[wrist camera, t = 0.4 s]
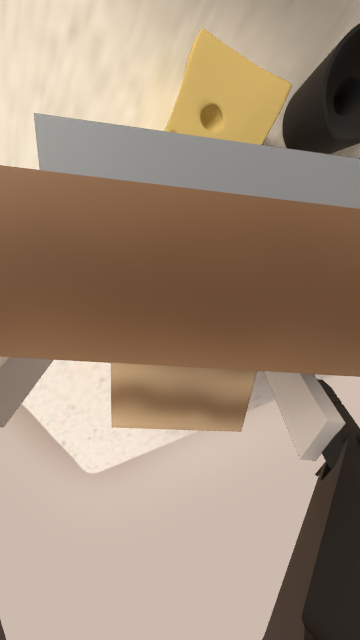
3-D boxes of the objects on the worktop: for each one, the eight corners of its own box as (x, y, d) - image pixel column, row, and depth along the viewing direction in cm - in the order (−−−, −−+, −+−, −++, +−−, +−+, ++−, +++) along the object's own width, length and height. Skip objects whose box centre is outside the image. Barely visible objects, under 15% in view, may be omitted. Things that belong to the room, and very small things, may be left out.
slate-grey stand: (139, 201, 35) (33, 113, 7) (232, 211, 36) (451, 171, 8) (137, 256, 38) (58, 347, 10) (223, 264, 39) (363, 366, 11)
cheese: (223, 200, 36) (243, 192, 26) (156, 164, 33) (152, 142, 24) (259, 123, 32) (297, 83, 23) (188, 77, 30) (198, 12, 21)
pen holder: (290, 176, 35) (334, 159, 25) (268, 103, 31) (311, 53, 22) (353, 141, 33) (424, 109, 24) (337, 61, 30) (413, -11, 21)
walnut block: (-313, 147, 7) (-851, 62, 3) (448, 234, 9) (640, 242, 5) (-237, 281, 8) (-549, 325, 5) (401, 329, 11) (527, 385, 7)
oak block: (136, 298, 40) (110, 362, 22) (216, 305, 42) (257, 370, 23) (135, 340, 43) (111, 427, 25) (210, 345, 45) (241, 431, 26)
